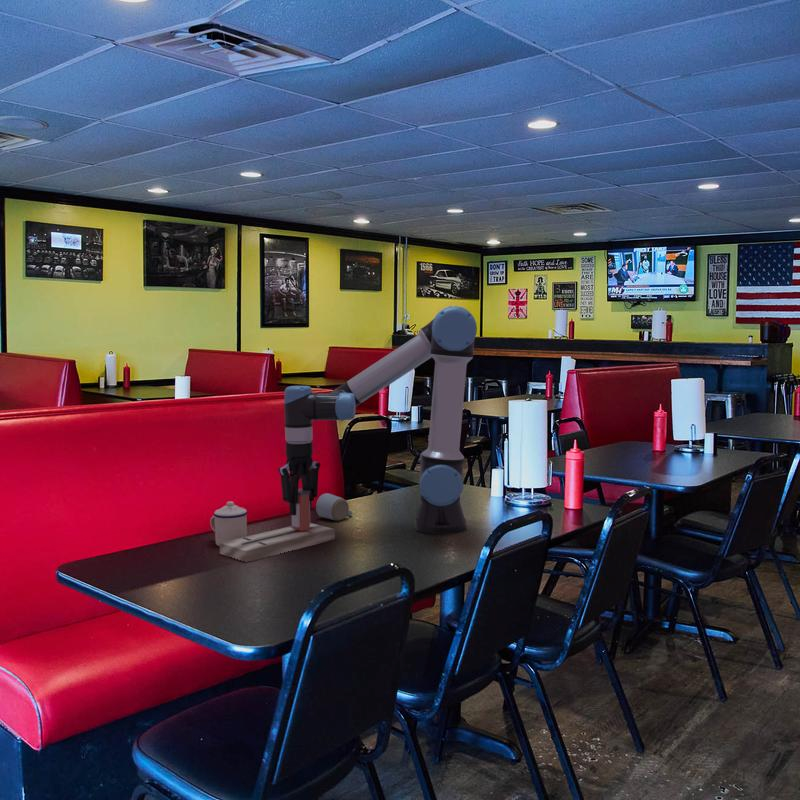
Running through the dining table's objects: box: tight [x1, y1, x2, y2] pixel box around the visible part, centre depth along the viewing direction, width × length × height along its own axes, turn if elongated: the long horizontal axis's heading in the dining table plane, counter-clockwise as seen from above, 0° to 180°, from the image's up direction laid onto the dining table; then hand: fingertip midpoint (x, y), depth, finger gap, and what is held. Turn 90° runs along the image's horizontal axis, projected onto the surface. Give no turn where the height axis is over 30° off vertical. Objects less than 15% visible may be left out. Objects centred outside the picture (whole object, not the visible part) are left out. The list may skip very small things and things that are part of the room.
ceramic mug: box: [315, 493, 353, 522], centre depth 256 cm, size 11×8×8 cm
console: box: [219, 522, 336, 563], centre depth 224 cm, size 12×30×3 cm, turn 136°
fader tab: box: [291, 488, 311, 531], centre depth 229 cm, size 4×3×11 cm
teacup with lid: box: [209, 501, 248, 547], centre depth 228 cm, size 12×9×12 cm
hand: (301, 524), depth 229 cm, fingers closed on fader tab, 3 cm apart
